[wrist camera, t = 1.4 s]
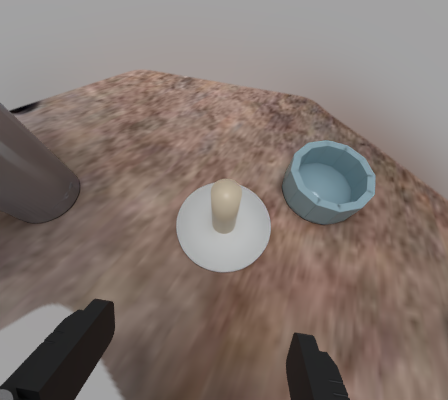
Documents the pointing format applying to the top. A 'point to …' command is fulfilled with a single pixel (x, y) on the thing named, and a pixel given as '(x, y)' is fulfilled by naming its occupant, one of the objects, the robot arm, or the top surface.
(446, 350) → the top surface
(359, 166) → the bowl
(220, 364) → the top surface
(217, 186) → the lid
